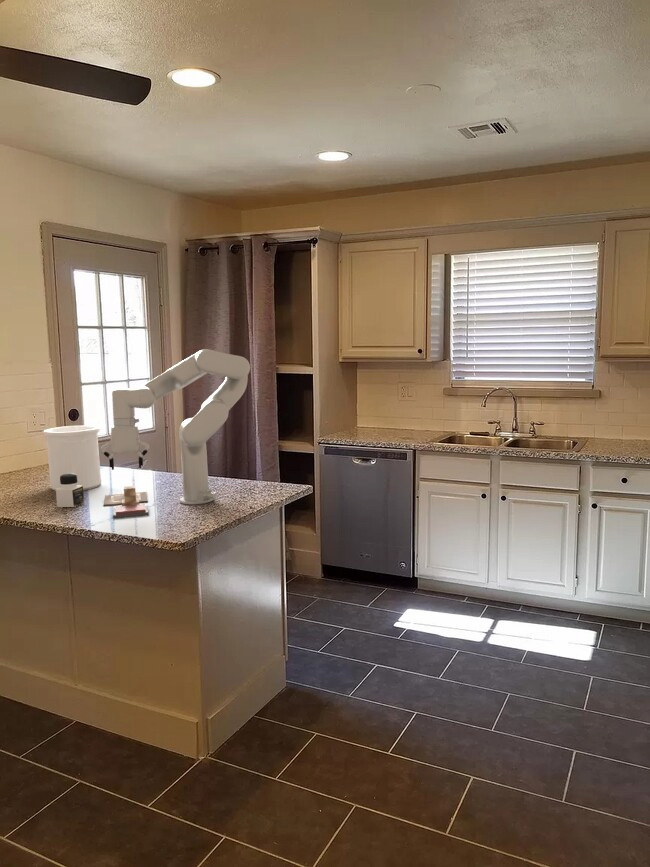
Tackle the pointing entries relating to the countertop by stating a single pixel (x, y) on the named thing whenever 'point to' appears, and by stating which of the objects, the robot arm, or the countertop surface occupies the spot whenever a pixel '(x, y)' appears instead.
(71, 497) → the medicine bottle
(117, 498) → the marked board
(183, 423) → the robot arm
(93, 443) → the bucket
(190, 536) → the countertop surface
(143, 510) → the ink pad
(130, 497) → the stamp
